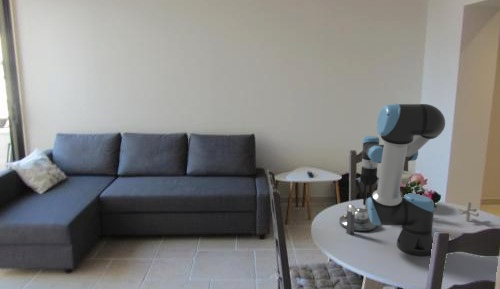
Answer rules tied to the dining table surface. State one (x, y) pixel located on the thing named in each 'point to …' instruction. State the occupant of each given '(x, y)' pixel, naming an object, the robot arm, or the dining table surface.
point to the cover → (361, 216)
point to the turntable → (357, 227)
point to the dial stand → (350, 219)
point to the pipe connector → (468, 211)
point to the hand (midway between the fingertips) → (366, 211)
